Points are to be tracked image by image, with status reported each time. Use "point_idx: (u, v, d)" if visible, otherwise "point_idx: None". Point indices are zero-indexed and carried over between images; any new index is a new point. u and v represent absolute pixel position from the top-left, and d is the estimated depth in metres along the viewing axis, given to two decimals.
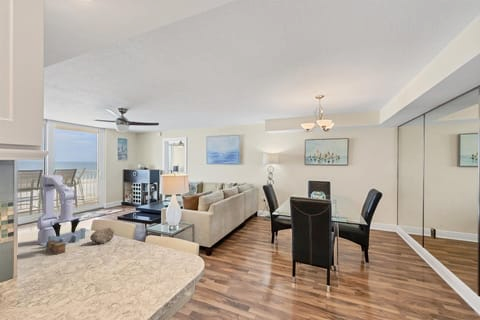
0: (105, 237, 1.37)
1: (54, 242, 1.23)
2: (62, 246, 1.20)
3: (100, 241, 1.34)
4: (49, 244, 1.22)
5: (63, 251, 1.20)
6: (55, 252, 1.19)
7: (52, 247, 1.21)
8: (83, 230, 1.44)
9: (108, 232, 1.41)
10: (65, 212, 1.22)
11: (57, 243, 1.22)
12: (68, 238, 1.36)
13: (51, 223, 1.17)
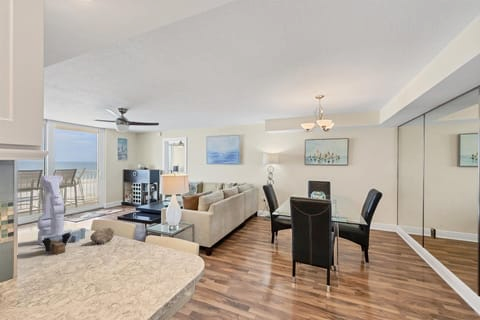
0: (105, 237, 1.37)
1: (54, 242, 1.23)
2: (62, 246, 1.20)
3: (100, 241, 1.34)
4: None
5: (63, 251, 1.20)
6: (55, 252, 1.19)
7: (52, 247, 1.21)
8: (83, 230, 1.44)
9: (108, 232, 1.41)
10: (55, 227, 1.20)
11: (57, 243, 1.22)
12: None
13: (41, 238, 1.16)
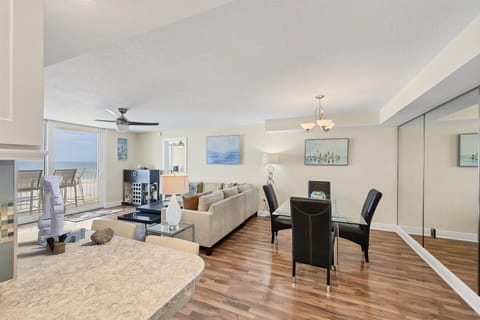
0: (105, 237, 1.37)
1: (54, 242, 1.23)
2: (62, 246, 1.20)
3: (100, 241, 1.34)
4: None
5: (63, 251, 1.20)
6: (55, 252, 1.19)
7: None
8: (83, 230, 1.44)
9: (108, 232, 1.41)
10: (55, 227, 1.20)
11: (57, 243, 1.22)
12: (68, 238, 1.36)
13: (41, 238, 1.16)
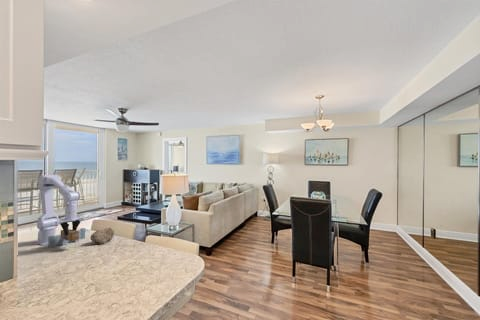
0: (105, 237, 1.37)
1: (68, 230, 1.29)
2: (76, 233, 1.26)
3: (100, 241, 1.34)
4: (63, 232, 1.28)
5: (77, 238, 1.26)
6: (69, 239, 1.25)
7: (66, 235, 1.27)
8: (83, 230, 1.44)
9: (108, 232, 1.41)
10: (69, 213, 1.26)
11: (71, 231, 1.28)
12: None
13: (56, 223, 1.22)
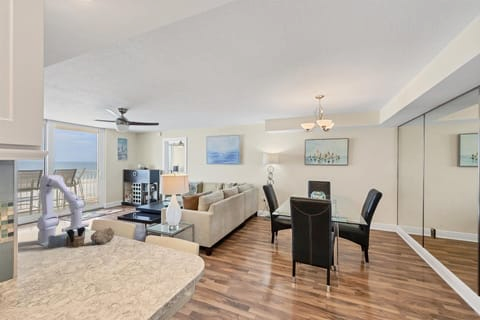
0: (105, 237, 1.37)
1: None
2: (81, 240, 1.31)
3: (100, 241, 1.34)
4: (69, 238, 1.33)
5: (82, 244, 1.31)
6: (75, 245, 1.30)
7: None
8: None
9: (108, 232, 1.41)
10: (75, 220, 1.31)
11: (76, 237, 1.32)
12: None
13: (62, 230, 1.27)
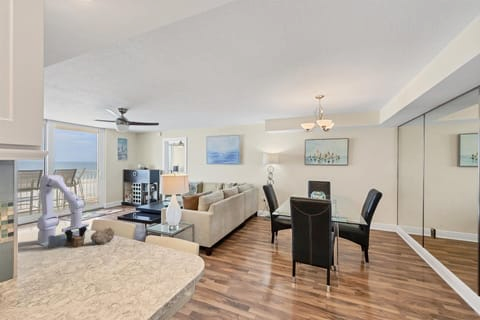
0: (105, 237, 1.37)
1: (73, 236, 1.34)
2: (81, 240, 1.31)
3: (100, 241, 1.34)
4: None
5: (82, 244, 1.31)
6: (75, 245, 1.30)
7: (72, 241, 1.31)
8: None
9: (108, 232, 1.41)
10: (75, 220, 1.31)
11: (76, 237, 1.32)
12: None
13: (62, 230, 1.27)
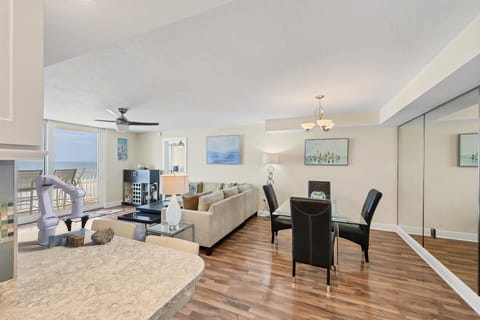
0: (105, 237, 1.37)
1: (74, 236, 1.34)
2: (81, 240, 1.31)
3: (100, 241, 1.34)
4: (69, 238, 1.33)
5: (82, 244, 1.31)
6: (75, 245, 1.30)
7: (72, 241, 1.31)
8: (83, 230, 1.44)
9: (109, 232, 1.40)
10: (76, 209, 1.32)
11: (76, 237, 1.32)
12: None
13: (63, 219, 1.27)
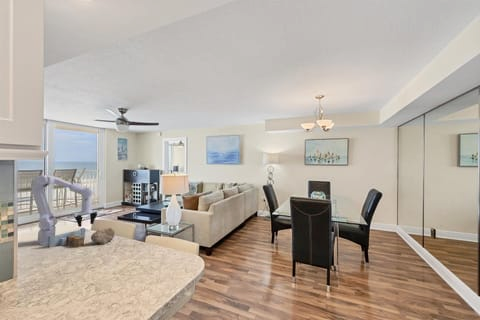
0: (106, 237, 1.37)
1: (73, 236, 1.34)
2: (81, 240, 1.31)
3: (100, 241, 1.33)
4: (69, 238, 1.33)
5: (82, 244, 1.31)
6: (75, 245, 1.30)
7: (72, 241, 1.31)
8: (83, 230, 1.44)
9: (109, 232, 1.40)
10: (85, 206, 1.42)
11: (76, 237, 1.32)
12: None
13: (74, 215, 1.38)
